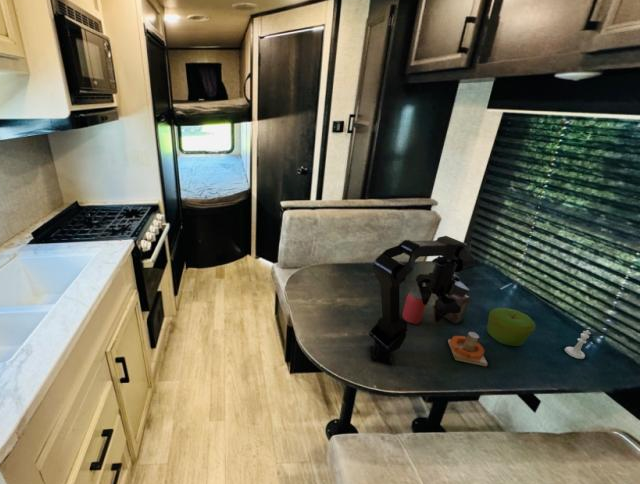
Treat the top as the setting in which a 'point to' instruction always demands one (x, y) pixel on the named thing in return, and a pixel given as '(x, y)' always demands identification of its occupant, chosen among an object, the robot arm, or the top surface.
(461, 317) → the box
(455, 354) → the square plate with peg
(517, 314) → the apple
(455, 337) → the ring
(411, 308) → the beer can
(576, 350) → the chess piece
